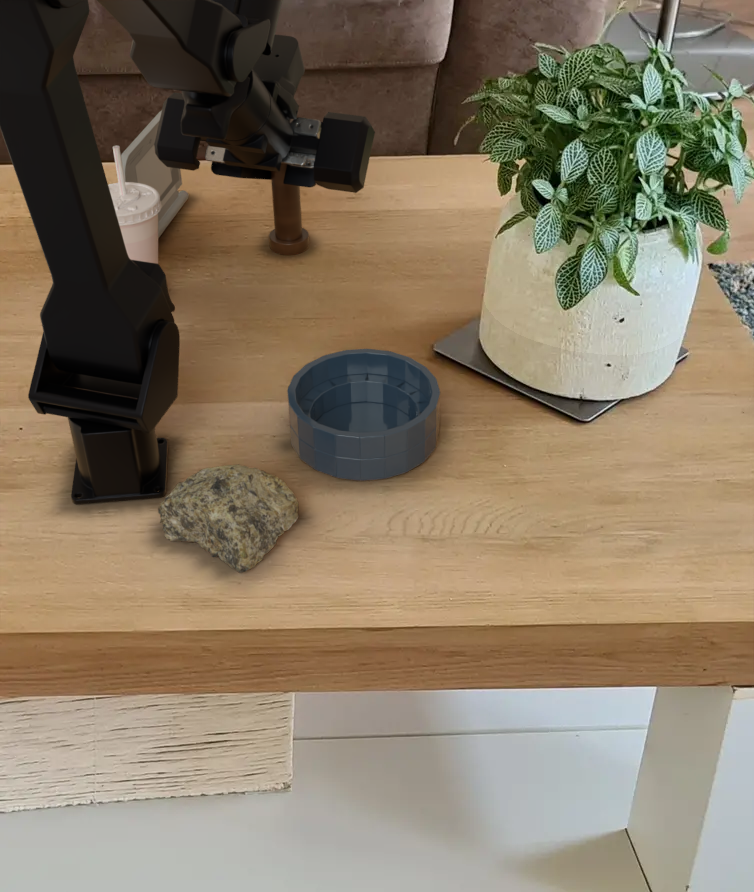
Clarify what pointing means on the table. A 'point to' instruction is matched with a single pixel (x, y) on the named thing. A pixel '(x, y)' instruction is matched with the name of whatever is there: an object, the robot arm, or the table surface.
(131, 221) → the smoothie
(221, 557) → the rock
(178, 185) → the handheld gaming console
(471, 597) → the table surface
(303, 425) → the bowl
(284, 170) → the brown wooden peg
